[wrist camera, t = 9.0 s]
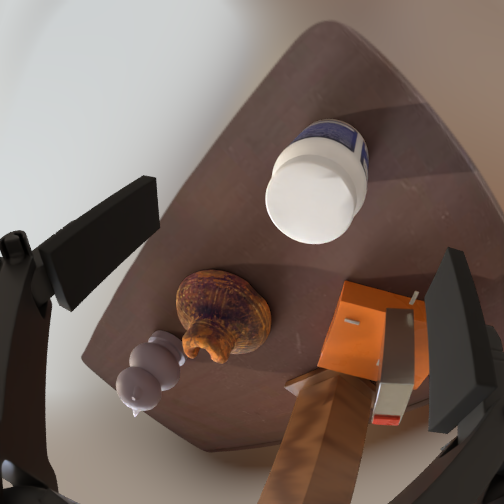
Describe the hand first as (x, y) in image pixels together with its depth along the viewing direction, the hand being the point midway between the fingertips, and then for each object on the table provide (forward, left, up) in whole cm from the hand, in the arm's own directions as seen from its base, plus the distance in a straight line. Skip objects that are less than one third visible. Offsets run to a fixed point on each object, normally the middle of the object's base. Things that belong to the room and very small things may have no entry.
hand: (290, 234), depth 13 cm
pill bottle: (0, 0, -13) cm, 13 cm away
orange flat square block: (-10, +15, -13) cm, 22 cm away
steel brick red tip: (-10, +14, -10) cm, 20 cm away
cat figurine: (+17, +32, -13) cm, 39 cm away
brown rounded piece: (+8, +20, -13) cm, 26 cm away
